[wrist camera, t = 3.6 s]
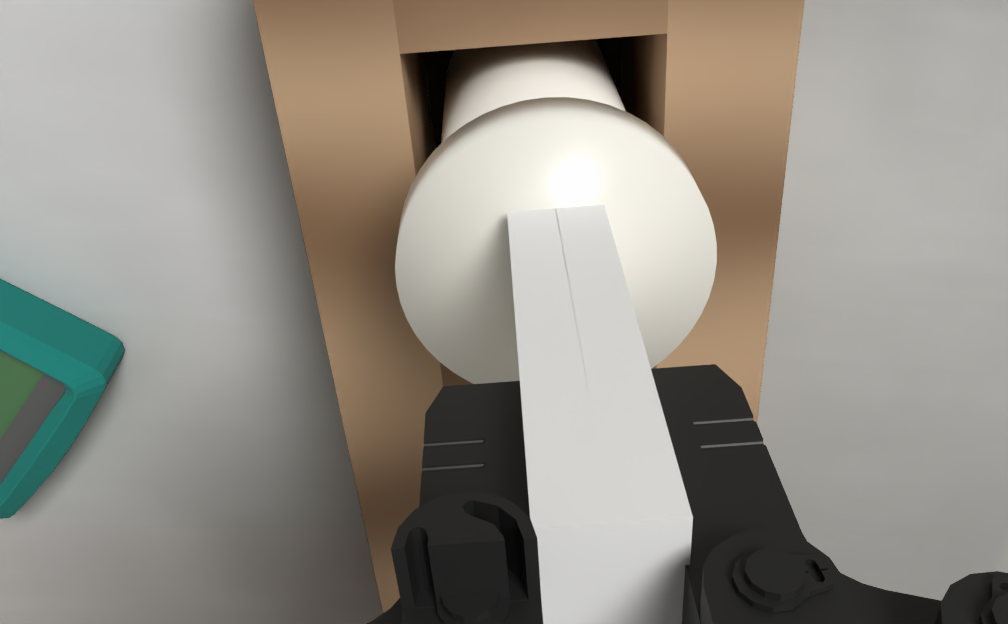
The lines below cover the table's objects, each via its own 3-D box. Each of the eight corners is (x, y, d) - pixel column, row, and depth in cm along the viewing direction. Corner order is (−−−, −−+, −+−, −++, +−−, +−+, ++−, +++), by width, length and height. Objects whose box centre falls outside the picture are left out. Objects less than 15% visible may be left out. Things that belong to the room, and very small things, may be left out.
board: (284, -176, 20) (221, -145, 15) (735, -211, 20) (825, -192, 15) (432, 667, 36) (426, 818, 31) (681, 650, 36) (715, 799, 31)
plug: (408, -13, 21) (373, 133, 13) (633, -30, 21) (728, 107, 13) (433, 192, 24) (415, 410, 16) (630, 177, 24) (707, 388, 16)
